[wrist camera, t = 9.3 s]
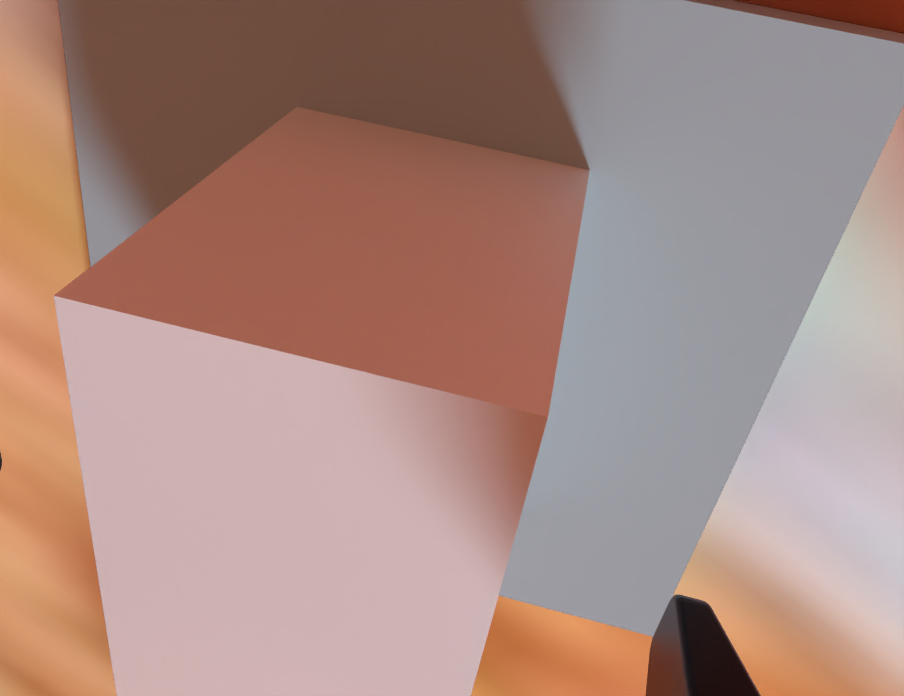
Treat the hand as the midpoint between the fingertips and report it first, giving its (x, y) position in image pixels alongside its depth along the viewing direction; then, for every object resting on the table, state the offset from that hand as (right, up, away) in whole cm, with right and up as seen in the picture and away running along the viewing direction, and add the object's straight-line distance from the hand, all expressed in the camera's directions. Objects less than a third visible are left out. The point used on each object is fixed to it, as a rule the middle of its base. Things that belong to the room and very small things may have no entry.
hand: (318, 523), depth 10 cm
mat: (+1, +3, +4) cm, 5 cm away
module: (+1, +3, +4) cm, 5 cm away
